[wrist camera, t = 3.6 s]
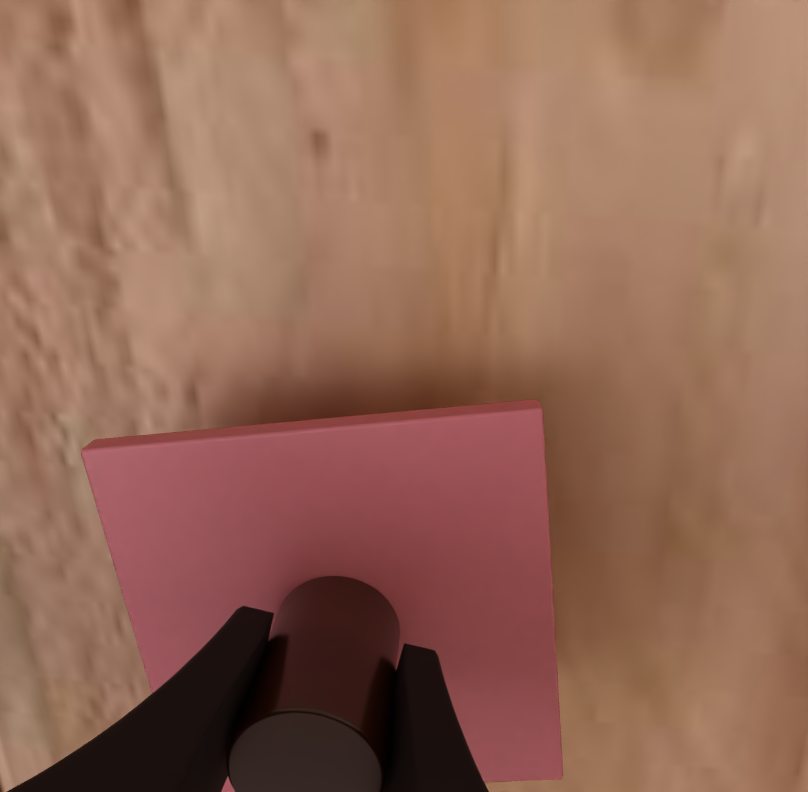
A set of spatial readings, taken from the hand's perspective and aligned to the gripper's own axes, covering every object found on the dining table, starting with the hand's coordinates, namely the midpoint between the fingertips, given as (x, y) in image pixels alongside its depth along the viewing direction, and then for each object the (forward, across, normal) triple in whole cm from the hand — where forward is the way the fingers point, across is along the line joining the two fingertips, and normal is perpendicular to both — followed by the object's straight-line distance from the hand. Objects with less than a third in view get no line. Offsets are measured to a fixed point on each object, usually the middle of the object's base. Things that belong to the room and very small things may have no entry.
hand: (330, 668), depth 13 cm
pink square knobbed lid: (+2, 0, 0) cm, 2 cm away
